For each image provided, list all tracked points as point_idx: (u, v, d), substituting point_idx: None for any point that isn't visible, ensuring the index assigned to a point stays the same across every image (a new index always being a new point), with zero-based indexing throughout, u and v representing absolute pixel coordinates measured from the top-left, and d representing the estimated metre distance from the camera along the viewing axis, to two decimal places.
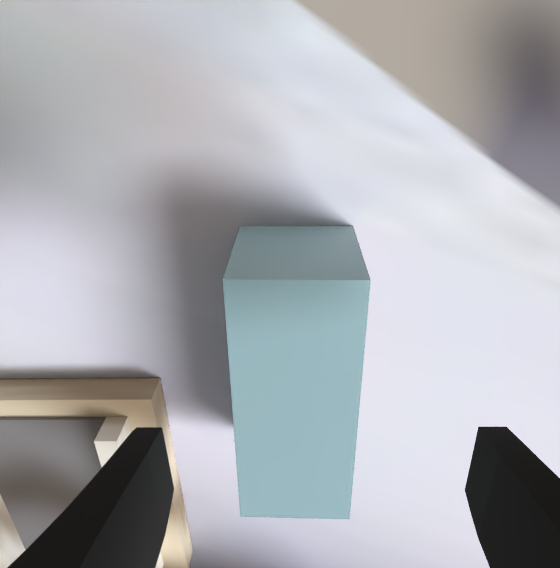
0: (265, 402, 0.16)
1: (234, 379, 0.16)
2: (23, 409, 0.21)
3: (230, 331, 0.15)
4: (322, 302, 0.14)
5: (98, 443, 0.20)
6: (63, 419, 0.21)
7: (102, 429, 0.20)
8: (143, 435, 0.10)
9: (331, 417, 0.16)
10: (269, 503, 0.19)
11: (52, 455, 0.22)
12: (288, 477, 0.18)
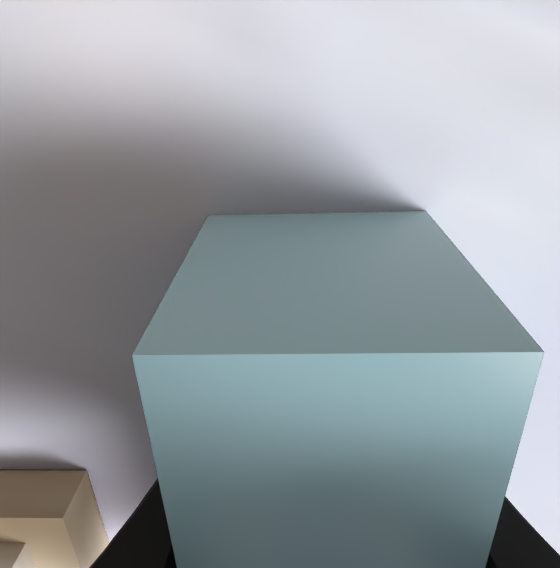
0: None
1: (187, 567, 0.07)
2: None
3: (167, 474, 0.06)
4: (402, 409, 0.05)
5: None
6: None
7: None
8: None
9: None
10: None
11: None
12: None
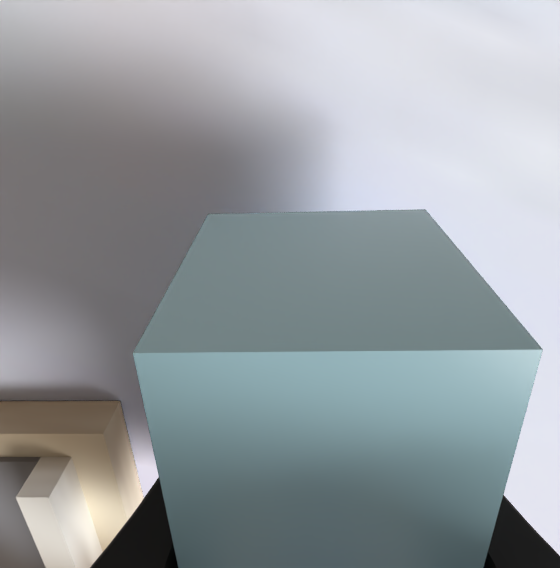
0: None
1: (187, 564, 0.07)
2: None
3: (168, 472, 0.06)
4: (402, 406, 0.05)
5: (22, 500, 0.13)
6: None
7: (31, 477, 0.14)
8: None
9: None
10: None
11: None
12: None
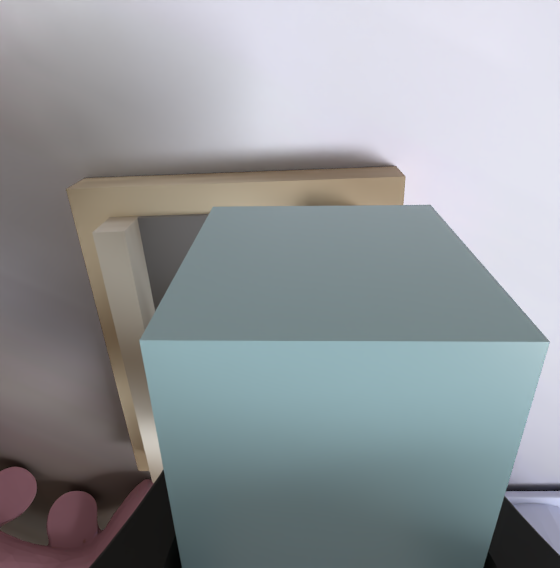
0: None
1: (189, 555, 0.07)
2: (218, 199, 0.15)
3: (171, 461, 0.06)
4: (408, 398, 0.05)
5: None
6: None
7: None
8: None
9: None
10: None
11: None
12: None
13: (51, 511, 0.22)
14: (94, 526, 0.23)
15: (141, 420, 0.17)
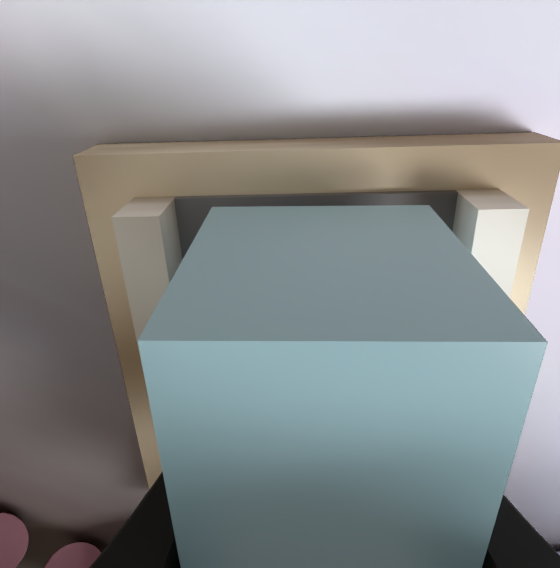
0: None
1: (188, 555, 0.07)
2: (290, 174, 0.10)
3: (170, 461, 0.06)
4: (406, 397, 0.05)
5: (486, 215, 0.09)
6: (368, 195, 0.11)
7: (472, 199, 0.10)
8: None
9: None
10: None
11: None
12: None
13: None
14: None
15: None
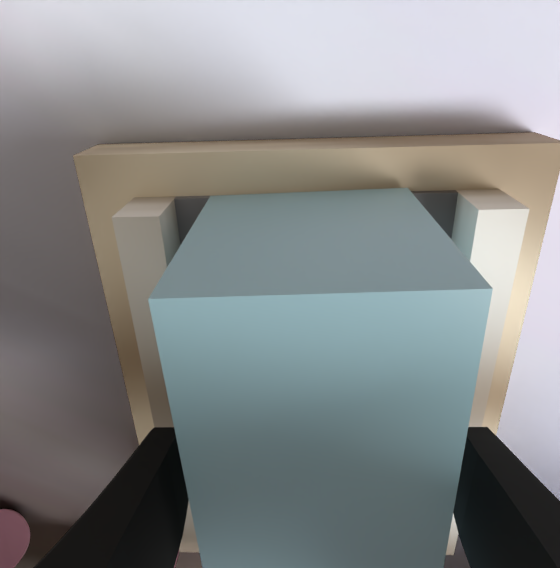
0: (262, 535, 0.08)
1: (197, 496, 0.08)
2: (290, 174, 0.10)
3: (178, 408, 0.07)
4: (377, 342, 0.06)
5: (486, 215, 0.09)
6: None
7: (472, 199, 0.10)
8: (162, 436, 0.10)
9: (393, 557, 0.08)
10: None
11: None
12: None
13: None
14: None
15: None
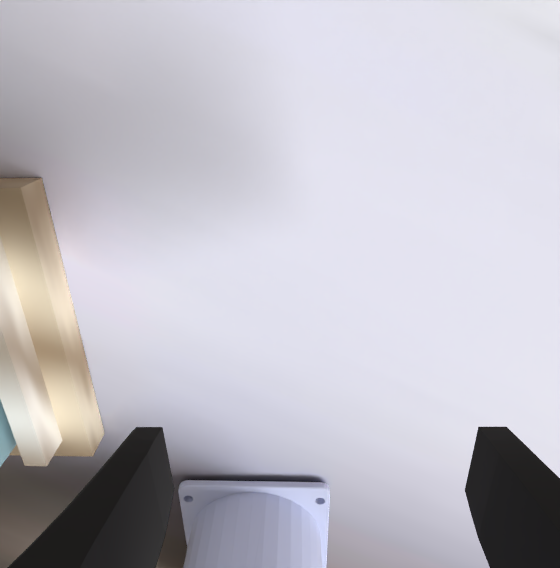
0: None
1: None
2: None
3: None
4: None
5: None
6: None
7: None
8: (143, 436, 0.10)
9: None
10: None
11: None
12: None
13: None
14: None
15: None
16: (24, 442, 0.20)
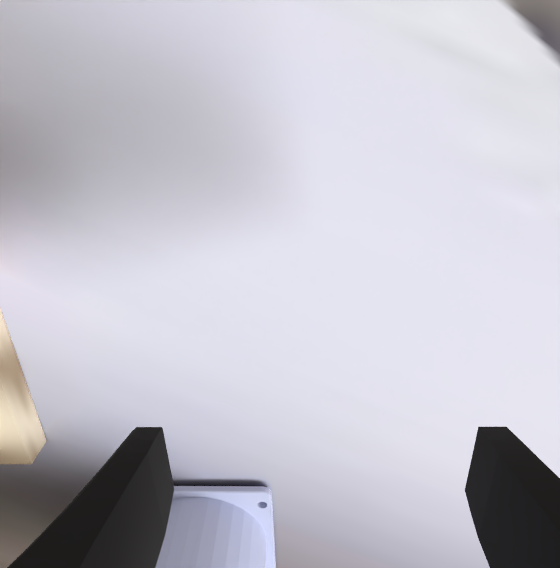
0: None
1: None
2: None
3: None
4: None
5: None
6: None
7: None
8: (143, 436, 0.10)
9: None
10: None
11: None
12: None
13: None
14: None
15: None
16: None
